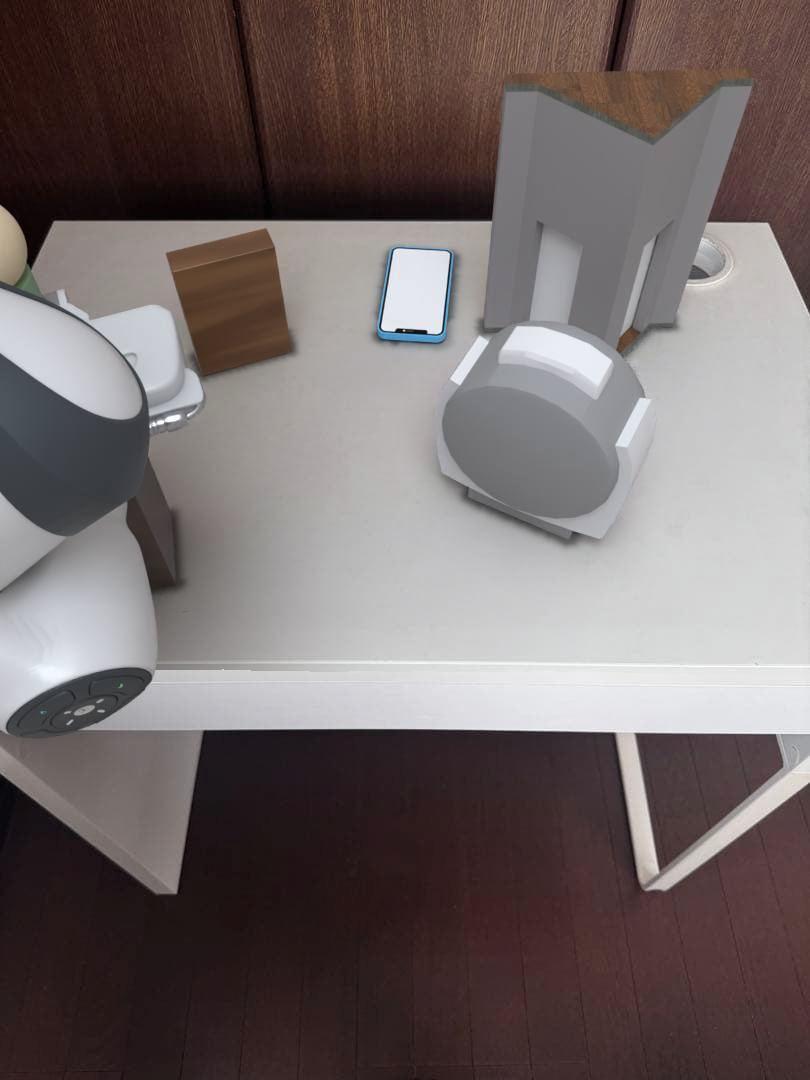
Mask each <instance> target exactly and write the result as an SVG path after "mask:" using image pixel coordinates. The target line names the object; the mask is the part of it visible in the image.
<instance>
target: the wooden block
mask: <svg viewBox="0 0 810 1080" xmlns="http://www.w3.org/2000/svg"><path fill="white" fill-rule="evenodd" d="M165 255H166V259H167V263H168V266H169V270H170V274H171V276H172V281H173V284H174V287H175V290H176V294H177V297H178V300H179V304H180V307H181V311H182V314H183V318H184V321H185V324H186V327H187V328H186V329H187V330H188V331H187V332H188V335H189V338H190V342H191V345H192V349H193V352H194V355H195V358H196V361H197V364H198V368H199V370H200V373H201V376H202V377H205V376H209V375H212V374H216V373H220V372H223V371H227V370H232V369H235V368H238V367H241V366H245V365H250V364H253V363H256V362H260V361H263V360H267V359H270V358H274V357H278V356H281V355H285V354H288V353H292V351H293V349H292V343H291V337H290V331H289V325H288V319H287V318H288V317H287V313H286V306H285V299H284V293H283V288H282V282H281V281H282V280H281V274H280V270H279V264H278V257H277V251H276V246H275V243H274V241H273V239H272V237H271V234H270V233H269V231H268V229H267V227H264V228H260V229H256V230H252V231H248V232H245V233H240V234H236V235H233V236H229V237H228V236H227V237H224V238H220V239H215V240H213V241H208V242H204V243H200V244H196V245H192V246H187V247H184V248H179V249H175V250H172V251H167V252H166V253H165Z"/></svg>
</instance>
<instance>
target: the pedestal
mask: <svg viewBox="0 0 810 1080" xmlns="http://www.w3.org/2000/svg"><path fill="white" fill-rule="evenodd" d="M126 523H127V526H128V528H129V530H130V531H131V532H132V534H133V535H134V537H135V538H136V540H137V542H138V544H139V546H140V549H141V552H142V556H143V560H144V564H145V568H146V572H147V576H148V580H149V585H150V589H158V588H163V587H169V586H175V585H177V581H176V578H177V577H176V566H175V565H176V562H175V561H176V560H175V546H174V545H175V543H174V529H173V514H172V511H171V509H170V506H169V503H168V502H167V499H166V496H165V494H164V491H163V489H162V487H161V485H160V482H159V479H158V477H157V475H156V472H155V470H154V467H153V465H152V462H151V460H150V457H149V456H148V458H147V464H146V468H145V473H144V477H143V480H142V484H141V487H140V489H139V491H138V492H137V494H136V495H135V496H134V497H133V498H131V499H130V500H128V501H127V514H126Z"/></svg>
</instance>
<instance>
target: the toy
mask: <svg viewBox="0 0 810 1080" xmlns="http://www.w3.org/2000/svg"><path fill="white" fill-rule="evenodd" d="M27 260H28V246H27V241H26V238H25V235H24V232H23V230H22V228H21V226H20V224H19V222H18V221H17V220H16V218H15V217H14V216H13V215H12V214H11V213H10V212H9V211H8V210H7V209H6V208H5V207H3V205H1V204H0V281H2V282H5V283H7V284H9V285H12V286H14V287H17V288H19V289H22V290H24V291H27V292H29V293H32V294H34V295H37V296H39V297H41V298H43V296H42V294H43V293H42V292H41V290H40V287H39V285H38V282H37V280H36V279H35V276H34V274H33V272H32V269H31V267H30V266H29V264H28V263H27Z"/></svg>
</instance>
